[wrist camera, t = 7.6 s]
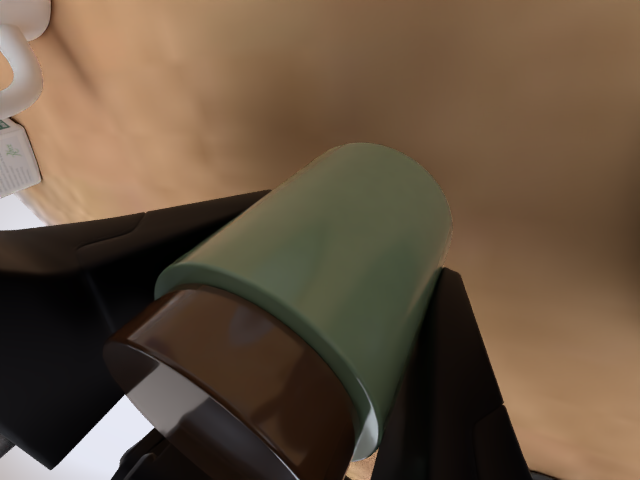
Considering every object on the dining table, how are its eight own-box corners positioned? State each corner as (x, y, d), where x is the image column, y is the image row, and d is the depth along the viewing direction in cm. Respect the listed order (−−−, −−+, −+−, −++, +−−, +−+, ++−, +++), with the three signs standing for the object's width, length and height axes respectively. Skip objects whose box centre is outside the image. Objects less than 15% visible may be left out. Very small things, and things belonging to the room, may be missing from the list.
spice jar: (417, 306, 10) (317, 565, 6) (293, 246, 12) (127, 415, 7) (487, 180, 7) (398, 509, 3) (309, 117, 9) (34, 262, 4)
